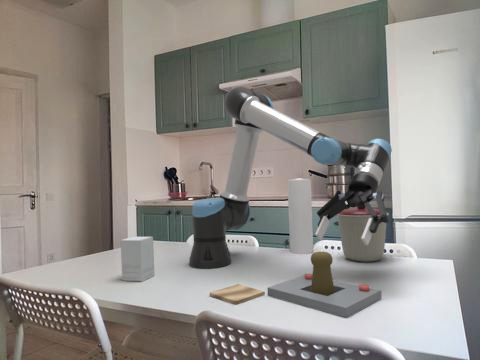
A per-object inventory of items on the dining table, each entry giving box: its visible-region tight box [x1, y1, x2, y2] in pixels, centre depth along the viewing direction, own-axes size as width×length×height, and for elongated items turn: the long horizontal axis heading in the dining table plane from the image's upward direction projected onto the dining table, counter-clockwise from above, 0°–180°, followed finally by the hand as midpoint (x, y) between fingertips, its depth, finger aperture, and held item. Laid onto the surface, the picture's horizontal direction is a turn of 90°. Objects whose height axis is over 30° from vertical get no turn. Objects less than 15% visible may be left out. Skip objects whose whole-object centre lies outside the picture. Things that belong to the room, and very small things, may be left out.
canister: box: [335, 206, 390, 263], centre depth 126 cm, size 18×18×21 cm
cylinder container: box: [287, 177, 314, 255], centre depth 144 cm, size 9×9×30 cm
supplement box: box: [120, 236, 155, 282], centre depth 110 cm, size 7×7×13 cm
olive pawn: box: [310, 251, 335, 296], centre depth 86 cm, size 6×6×11 cm
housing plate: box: [266, 273, 382, 319], centre depth 86 cm, size 22×16×3 cm
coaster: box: [209, 283, 266, 306], centre depth 89 cm, size 10×10×1 cm
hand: (340, 239), depth 92 cm, fingers open, 13 cm apart
